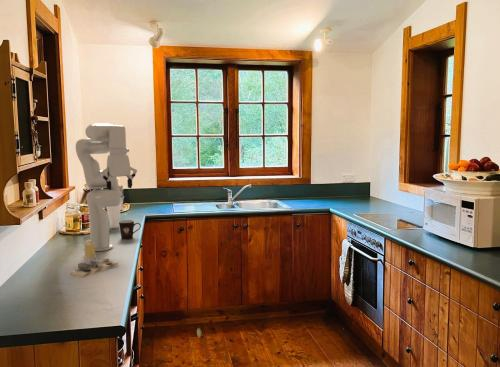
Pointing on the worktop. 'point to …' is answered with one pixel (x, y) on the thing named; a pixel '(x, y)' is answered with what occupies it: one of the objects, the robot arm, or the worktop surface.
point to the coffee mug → (127, 228)
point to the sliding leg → (90, 254)
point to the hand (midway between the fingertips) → (119, 188)
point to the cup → (114, 215)
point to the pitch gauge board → (92, 268)
